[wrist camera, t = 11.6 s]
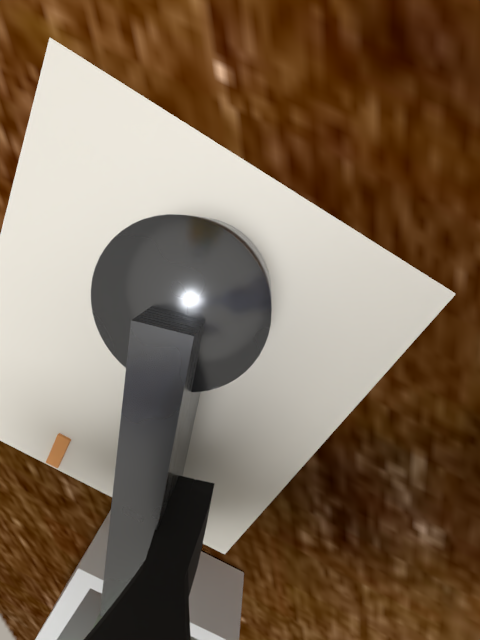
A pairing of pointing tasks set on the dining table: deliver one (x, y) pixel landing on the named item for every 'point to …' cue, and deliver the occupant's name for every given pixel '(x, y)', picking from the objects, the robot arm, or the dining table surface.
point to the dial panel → (194, 200)
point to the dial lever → (170, 357)
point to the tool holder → (204, 600)
